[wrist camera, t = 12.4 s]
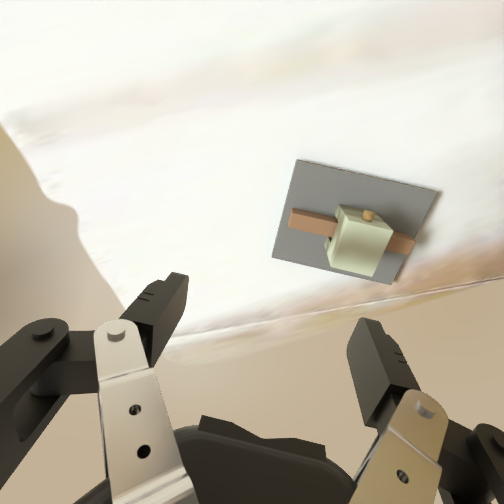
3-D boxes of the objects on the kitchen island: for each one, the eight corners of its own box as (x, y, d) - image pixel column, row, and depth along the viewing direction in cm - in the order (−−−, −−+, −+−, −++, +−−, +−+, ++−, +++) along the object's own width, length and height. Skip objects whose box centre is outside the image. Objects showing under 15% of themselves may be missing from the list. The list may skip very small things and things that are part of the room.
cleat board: (296, 159, 36) (297, 163, 33) (431, 190, 36) (447, 197, 32) (272, 253, 42) (270, 265, 39) (387, 280, 42) (397, 294, 38)
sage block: (340, 196, 36) (352, 211, 30) (378, 205, 36) (397, 222, 30) (323, 244, 39) (330, 267, 33) (358, 252, 39) (372, 276, 33)
